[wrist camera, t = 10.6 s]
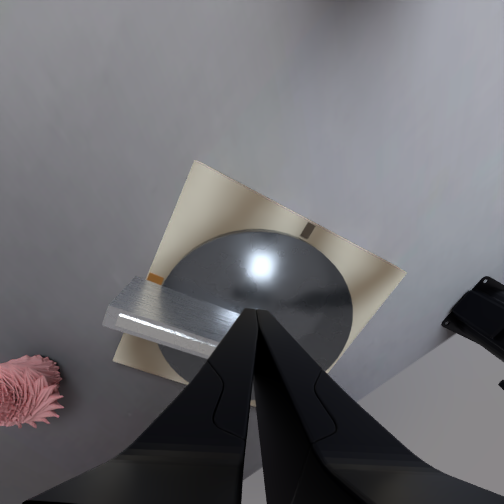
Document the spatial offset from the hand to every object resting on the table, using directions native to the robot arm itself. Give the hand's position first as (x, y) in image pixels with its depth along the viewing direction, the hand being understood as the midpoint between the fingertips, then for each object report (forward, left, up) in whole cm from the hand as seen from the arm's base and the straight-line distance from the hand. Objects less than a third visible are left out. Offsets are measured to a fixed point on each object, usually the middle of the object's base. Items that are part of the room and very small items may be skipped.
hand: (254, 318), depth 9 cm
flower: (+12, +22, -12) cm, 28 cm away
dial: (-4, +7, -11) cm, 13 cm away
